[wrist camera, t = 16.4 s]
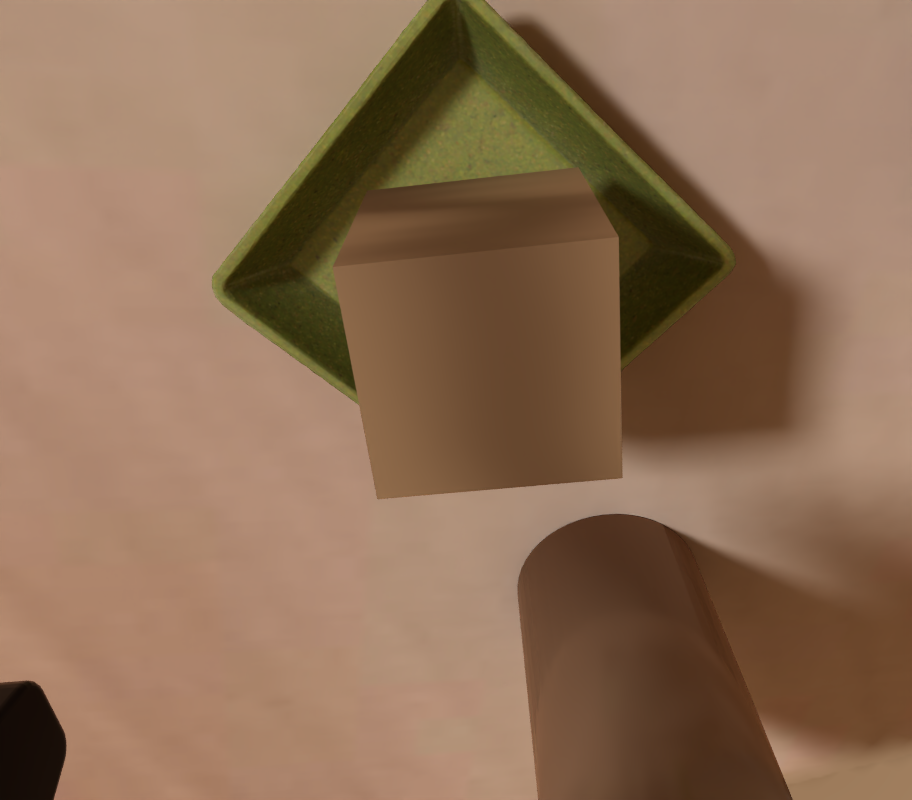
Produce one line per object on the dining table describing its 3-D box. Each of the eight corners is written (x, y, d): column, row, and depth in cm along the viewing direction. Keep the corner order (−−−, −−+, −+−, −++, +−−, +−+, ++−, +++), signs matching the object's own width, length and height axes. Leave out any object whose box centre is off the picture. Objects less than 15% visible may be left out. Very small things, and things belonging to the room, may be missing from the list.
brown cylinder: (509, 524, 23) (563, 1065, 12) (700, 505, 23) (946, 1043, 11) (524, 659, 26) (580, 1210, 14) (696, 644, 25) (892, 1195, 14)
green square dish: (479, 456, 23) (481, 499, 21) (224, 261, 20) (200, 291, 18) (718, 234, 20) (745, 262, 18) (454, -34, 17) (452, -34, 15)
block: (397, 377, 19) (377, 498, 15) (367, 190, 17) (332, 267, 13) (585, 359, 19) (622, 478, 14) (578, 167, 17) (618, 237, 12)
